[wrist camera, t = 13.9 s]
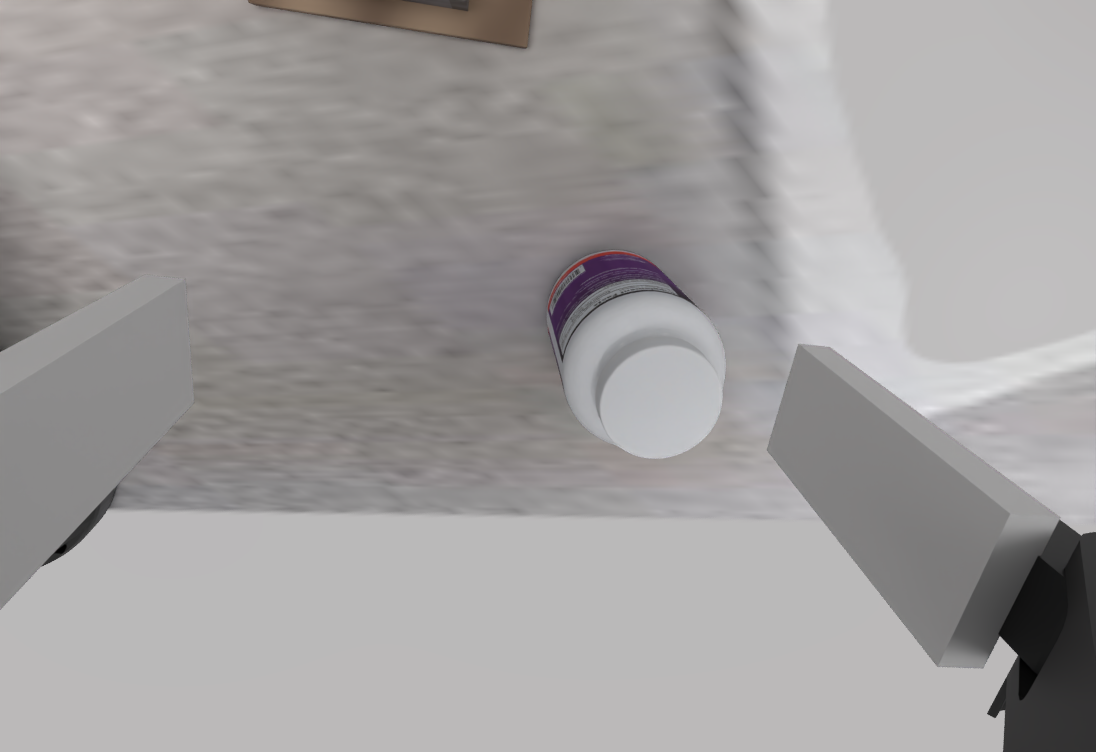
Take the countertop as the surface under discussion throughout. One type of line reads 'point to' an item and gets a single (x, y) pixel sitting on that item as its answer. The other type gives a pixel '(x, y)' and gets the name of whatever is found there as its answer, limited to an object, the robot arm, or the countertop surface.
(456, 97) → the countertop surface
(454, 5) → the bracket board
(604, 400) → the pill bottle
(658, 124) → the countertop surface
